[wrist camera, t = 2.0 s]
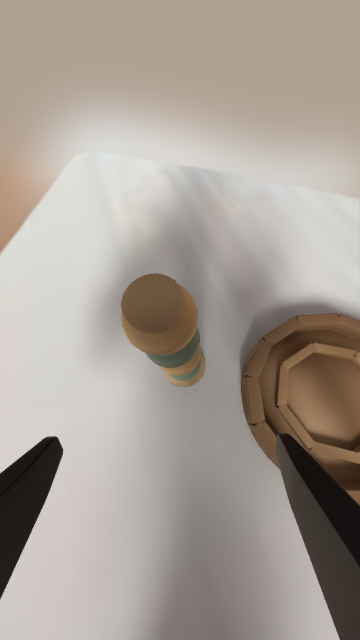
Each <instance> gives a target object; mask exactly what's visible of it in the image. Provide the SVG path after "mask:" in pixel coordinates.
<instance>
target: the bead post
mask: <svg viewBox="0 0 360 640" xmlns="http://www.w3.org/2000/svg"><path fill="white" fill-rule="evenodd" d="M121 308H122V325H123V329H124V332H125V334H126V336H127V337H128V339H129V340H130V342H131V343H132V344H133V345H134V346H135V347H136V348H138V349H140V350H141V351H143V352H145V353H146V354H147V355H148V357H149V358H150V359H151V360H152V361H153V362H154V363H156V364H157V365H159V366H160V368H161V369H162V370H163V371H165V374H166V376H167V377H168V379H169V380H170V381H171V382H173V383H174V384H176V385H179V386H191V385H193V384H195V383H196V382H198V381H199V380H200V378H201V377H202V375H203V373H204V370H205V361H204V357H203V355H202V353H201V349H200V345H199V342H200V336H199V331H198V328H197V323H198V312H197V307H196V304H195V302H194V300H193V298H192V296H191V295H190V294H189V292H188V291H187V290H185V289H184V288H183V287H182V286H180V285H179V284H178V283H177V282H176V281H175V280H173V279H172V278H170V277H168V276H166V275H162V274H149V275H145V276H142V277H140V278H138V279H136V280H135V281H134V282H132V283H131V284H130V285H129V286H128V288H127V289H126V291H125V292H124V295H123V297H122V302H121Z"/></svg>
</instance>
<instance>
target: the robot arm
mask: <svg viewBox="0 0 360 640" xmlns="http://www.w3.org/2000/svg"><path fill="white" fill-rule="evenodd" d="M276 454H277V458H278V462H279V465H280V469H281V473H282V477H283V480H284V484H285V488H286V492H287V495H288V499H289V502H290V505H291V508H292V511H293V513H294V516H295V519H296V522H297V524H298V527H299V530H300V532H301V535H302V538H303V541H304V543H305V546H306V549H307V551H308V554H309V557H310V560H311V562H312V565H313V568H314V571H315V573H316V576H317V579H318V581H319V584H320V587H321V590H322V592H323V595H324V598H325V600H326V603H327V606H328V609H329V611H330V614H331V617H332V619H333V622H334V625H335V628H336V630H337V633H338V636H339V639H340V640H360V505H359V504H358V503H357V502H356V501H355V500H354V499H353V498H352V497H351V496H350V495H349V494H348V493H347V492H346V491H345V490H344V489H343V488H342V487H341V486H340V485H339V484H338V483H337V482H336V481H335V480H334V479H333V478H332V476H331V475H330V474H329V473H328V472H327V471H326V470H325V469H324V468H323V467H322V466H321V465H320V464H319V463H318V462H317V461H316V460H315V459H314V458H313V457H312V456H311V455H310V454H309V453H308V452H307V451H306V450H305V449H304V448H303V447H302V446H301V445H300V444H299V443H298V442H297V441H296V440H295V439H294V438H293V437H292V436H291V435H290V434H288V433H279V434H278V435H277V441H276ZM62 455H63V448H62V446H61V444H60V441H59V439H58V438H57V437H56V436H49V437H46V438H44V439H43V440H42V441H40V442H39V443H38V444H37V445H35V446H34V447H33V448H32V449H30V450H29V451H28V452H27V453H25V454H24V455H23V456H22V457H20V458H19V459H18V460H17V461H15V462H14V463H13V464H12V465H10V466H9V467H8V468H7V469H5V470H4V471H3V472H2V473H0V599H1V597H2V594H3V592H4V590H5V588H6V586H7V584H8V581H9V579H10V577H11V575H12V573H13V571H14V568H15V566H16V564H17V562H18V560H19V557H20V555H21V553H22V551H23V549H24V547H25V544H26V542H27V540H28V538H29V536H30V533H31V531H32V529H33V527H34V525H35V523H36V520H37V518H38V516H39V514H40V512H41V510H42V507H43V505H44V503H45V501H46V498H47V496H48V493H49V491H50V488H51V485H52V483H53V480H54V477H55V474H56V472H57V469H58V466H59V463H60V461H61V458H62Z"/></svg>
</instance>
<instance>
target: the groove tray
mask: <svg viewBox="0 0 360 640" xmlns="http://www.w3.org/2000/svg"><path fill="white" fill-rule="evenodd" d="M241 391H242V403H243V408H244V413H245V416H246V419H247V422H248V425H249V427H250V429H251V431H252V434H253V435H254V437H255V439H256V441H257V442H258V444H259V446H260V447H261V448H262V450H263V451H264V452H265V454H266V455H267V456H268V457H269V458H270V460H271V461H272V462H273V463H274V464H275V465H276V466H277V467H278V468H279V469H280V465H279V462H278V458H277V454H276V441H277V435H278V434H279V433H288V434H290V435H291V436H292V437H293V438H294V439H295V440H296V441H297V442H298V443H299V444H300V445H301V446H302V447H303V448H304V449H305V450H306V451H307V452H308V453H309V454H310V455H311V456H312V457H313V458H314V459H315V460H316V461H317V462H318V463H319V464H320V465H321V466H322V467H323V468H324V469H325V470H326V471H327V472H328V473H329V474H330V475H331V476H332V478H333V479H334V480H335V481H336V482H337V483H338V484H339V485H340V486H341V487H342V488H343V489H344V490H345V491H346V492H347V493H348V494H349V495H350V496H351V497H352V498H353V499H354V500H355V501H356V502H357V503H358V504H359V505H360V321H359V320H356V319H354V318H351V317H348V316H346V315H343V314H340V315H338V313H334V314H318V315H302V316H296V317H293V318H292V319H290V320H289V321H287V322H286V323H284V324H282V325H281V326H279V327H278V328H276V329H274V330H273V331H271V332H270V333H269V334H267V335H266V336H264V337H263V338H262V339H261V340H260V342H259V343H258V344H257V345H256V347H255V348H254V350H253V351H252V352H251V354H250V356H249V358H248V360H247V363H246V365H245V368H244V372H243V377H242V388H241ZM280 470H281V469H280Z"/></svg>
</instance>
